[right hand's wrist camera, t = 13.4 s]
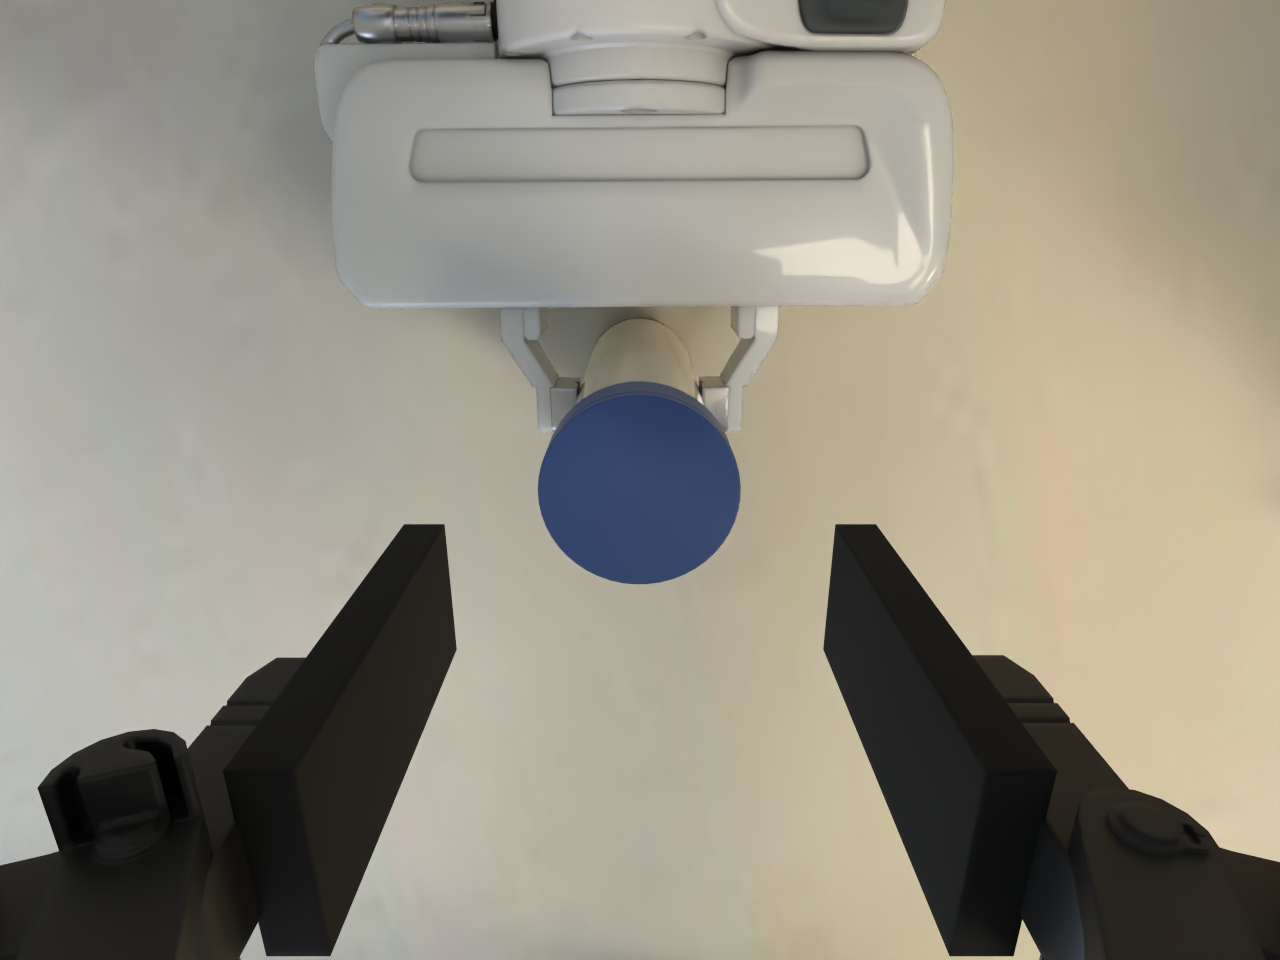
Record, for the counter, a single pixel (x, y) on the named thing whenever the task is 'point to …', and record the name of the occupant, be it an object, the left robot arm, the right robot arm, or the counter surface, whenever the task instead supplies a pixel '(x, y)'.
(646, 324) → the bottle
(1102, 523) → the counter surface
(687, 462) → the lid
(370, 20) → the left robot arm
